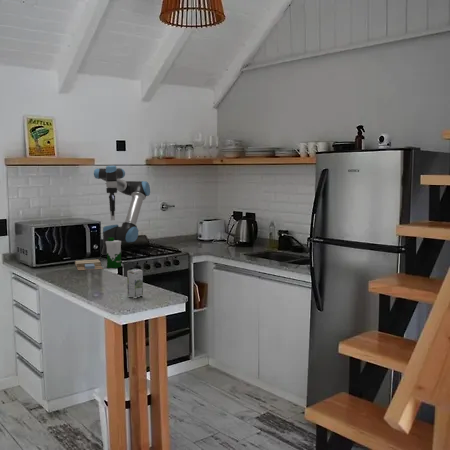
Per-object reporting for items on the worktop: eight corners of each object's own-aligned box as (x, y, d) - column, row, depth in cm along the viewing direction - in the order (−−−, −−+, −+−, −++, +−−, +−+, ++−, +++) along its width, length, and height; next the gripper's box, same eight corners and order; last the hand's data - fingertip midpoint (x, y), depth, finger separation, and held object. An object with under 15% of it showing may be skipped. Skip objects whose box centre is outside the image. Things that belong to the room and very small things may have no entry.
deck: (75, 265, 377) (75, 260, 377) (98, 263, 383) (98, 259, 383) (76, 268, 366) (76, 263, 366) (100, 266, 372) (100, 262, 371)
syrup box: (135, 295, 288) (135, 268, 286) (143, 297, 284) (142, 269, 283) (127, 297, 284) (126, 270, 282) (135, 299, 280) (134, 271, 278)
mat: (76, 268, 366) (76, 267, 366) (100, 266, 372) (100, 265, 372) (78, 270, 357) (78, 270, 357) (102, 268, 362) (102, 268, 362)
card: (84, 267, 368) (84, 264, 367) (93, 266, 370) (93, 263, 369) (85, 269, 359) (85, 266, 359) (95, 268, 361) (94, 265, 361)
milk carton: (112, 265, 374) (112, 236, 372) (123, 266, 370) (122, 237, 368) (104, 267, 366) (103, 238, 364) (115, 268, 362) (114, 239, 360)
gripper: (105, 187, 393) (106, 219, 396) (107, 187, 381) (108, 221, 384) (115, 186, 396) (116, 219, 399) (118, 187, 384) (119, 220, 387)
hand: (112, 220), depth 391 cm, fingers closed
